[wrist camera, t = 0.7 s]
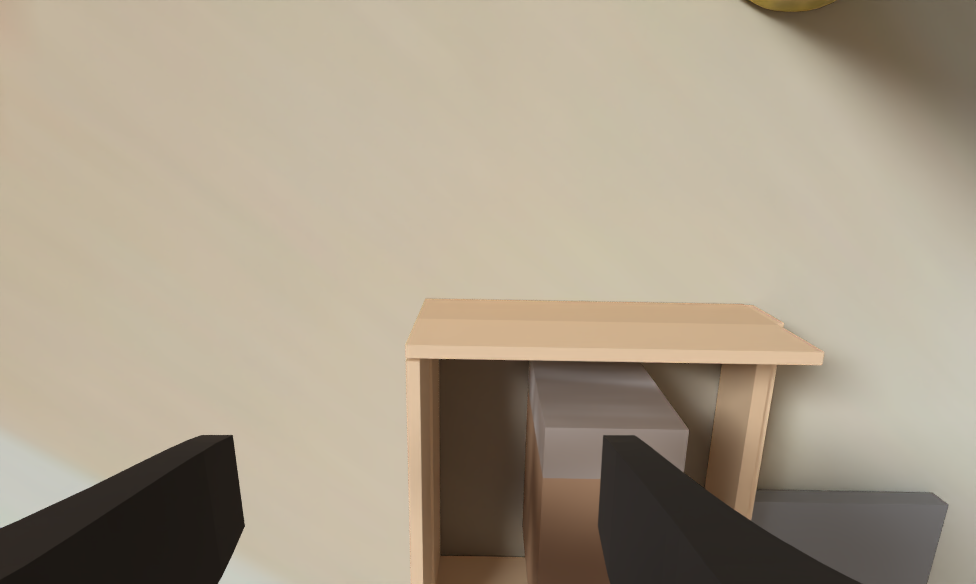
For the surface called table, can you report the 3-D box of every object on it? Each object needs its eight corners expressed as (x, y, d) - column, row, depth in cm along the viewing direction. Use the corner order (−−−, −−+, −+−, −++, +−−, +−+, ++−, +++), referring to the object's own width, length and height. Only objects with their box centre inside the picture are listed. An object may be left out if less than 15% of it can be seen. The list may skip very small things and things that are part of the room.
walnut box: (616, 528, 23) (660, 657, 17) (522, 526, 23) (533, 655, 17) (632, 351, 21) (689, 430, 15) (529, 350, 21) (545, 427, 15)
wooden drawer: (711, 575, 23) (769, 687, 18) (428, 570, 23) (413, 681, 18) (751, 304, 20) (835, 352, 15) (425, 298, 20) (405, 344, 15)
